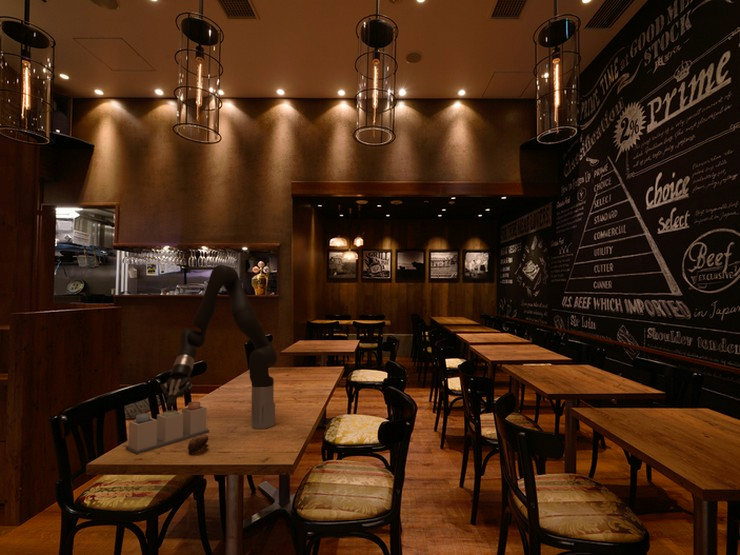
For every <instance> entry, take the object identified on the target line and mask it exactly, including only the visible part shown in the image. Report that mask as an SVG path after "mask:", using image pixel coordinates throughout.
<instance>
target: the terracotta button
mask: <svg viewBox="0 0 740 555" xmlns="http://www.w3.org/2000/svg"><path fill="white" fill-rule="evenodd" d="M200 406H201V401H199V400H195V401H189V402H188V403H187V408H188V410H190V411H193V410H197V409H200Z"/></svg>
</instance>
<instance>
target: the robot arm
mask: <svg viewBox="0 0 740 555" xmlns="http://www.w3.org/2000/svg"><path fill="white" fill-rule="evenodd" d="M223 287H224V289H225V291H226V293H227V295H228V296H229V300H230V312H231V316H232V318H233V320H234V322H235V325H236V326H237V328H238V329H239V331H240V332H241V333H242V334H244V335H245V337H247V338H248V339H249V341H250V342H251V343H252V345H253V346H254V350H252V351H251V353H250V355H249V358H248V359H249V360H248V361H249V362H248V365H249V366H248V368H249V369H248V370H249V371H248V372H249V379H250V382H251V428H253V429H256V430H257V429H258V430H265V429H268V428H272V427H273V426H275V425H276V402H274V397H275V396H274V394H275V393H274V390H275V389H274V387H275V386H274V385H275V384H274V383H275V382H274V381H275V380H274V377H272V376H270V375H269V368H272V367H274V366H275V365H276V364H277V361H278V355H277V352H276V350H275V349H274V347H273V345H272V344H271V342H270V341H269V339H268V337H267V336H266V334H265V331H264V329H263V327H262V325H261V323H260V321H259V320H258V317H257V314H256V312H255V310H254V309H253V307H252V305H251V302H250V301H249V299H248V296H247V294H246V293H245V291H244V288H243V285H242V282H241V280H240V277H239V274H238V272H237V271H236V269H235V268H233V267H231V266H228V265H224V264H218V265H216V266H214V268H213V269H212V270H211V272H210V275H209V278H208V282H207V285H206V288H205V291H204V295H203V298H202V300H201V303H200V305H199V307H198V308H197V311H196V313H195V315H194V317H193V319H192V324H193V325H194V326H196V327H197V328H199V329H200V331H199V330H195V329H192V328H190V327H189V328H184V329H183V330H182V331H181V333H180V336H179V352H178V354H177V356H176V359H175V360H174V363H173V365H172V368H171V372H170V374H169V378H168V379H167V380H166V382H165V383H160V385H159V386H160V389H161V390H162V392H163V393H164V395H165V397H166V398H167V399H166V405H167V406H168V407H171V408H172V407H174V406H175V404H176V401H177V399H178V398H179V397H180V398H182V397H184V396H185V395H186V394H187V393H189V391H191V390H192V389H193V388H194V386H193V384H192V382H190V377H191V375H192V372H193V369H194V364H195V360H196V357H197V354H198V350H197V349H198V348H201V347H203V346H204V344H205V343H206V336H207V331H208V327H209V325H210V322H211V321H212V319H213V317H214V314H215V312H216V308H217V306H216V305H217V300H218V299H217V298H218V295H219V293H220V292H221V289H222V288H223ZM168 387H169V389H168ZM167 389H168V390H169V391H168V390H167Z"/></svg>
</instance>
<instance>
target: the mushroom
mask: <svg viewBox="0 0 740 555" xmlns="http://www.w3.org/2000/svg"><path fill="white" fill-rule="evenodd" d="M208 441H209V436H208V435H207V434H202V435H198V436H196V437H192V438H190V440H189V443H188V446H187V450H188V452H189V453H190V454H191V455H194V454H197V453H199V452H204V451H205V450H206V449H207V448H208V447H210V444H207V443H208Z"/></svg>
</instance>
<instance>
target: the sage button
mask: <svg viewBox="0 0 740 555" xmlns="http://www.w3.org/2000/svg"><path fill="white" fill-rule="evenodd" d="M177 412H178V411H177V410H175V409H173V410H170V409H169V410H166V411H164V412H162V414H163V416H165V417H169V416H173V415H177Z"/></svg>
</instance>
